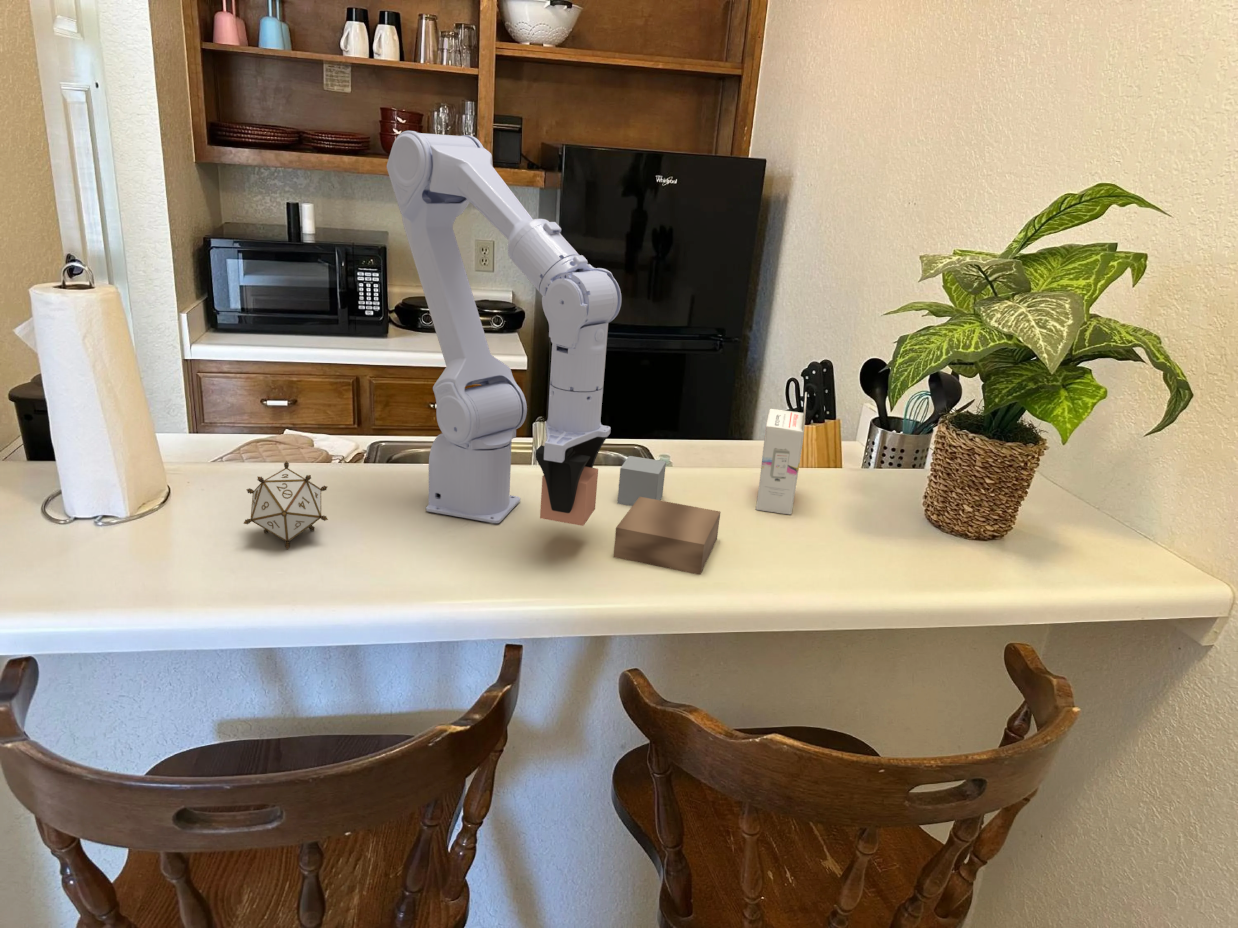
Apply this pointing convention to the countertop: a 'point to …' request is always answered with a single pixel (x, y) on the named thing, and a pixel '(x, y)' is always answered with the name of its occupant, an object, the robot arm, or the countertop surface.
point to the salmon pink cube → (582, 502)
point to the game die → (286, 504)
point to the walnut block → (667, 535)
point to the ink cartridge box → (781, 460)
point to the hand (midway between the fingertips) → (568, 501)
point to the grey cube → (640, 480)
